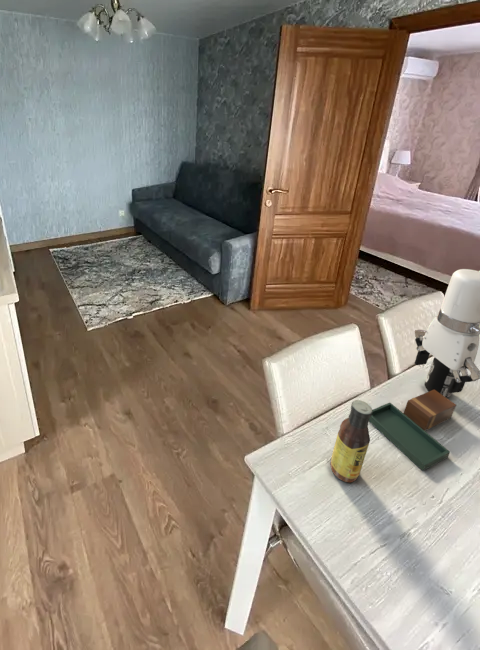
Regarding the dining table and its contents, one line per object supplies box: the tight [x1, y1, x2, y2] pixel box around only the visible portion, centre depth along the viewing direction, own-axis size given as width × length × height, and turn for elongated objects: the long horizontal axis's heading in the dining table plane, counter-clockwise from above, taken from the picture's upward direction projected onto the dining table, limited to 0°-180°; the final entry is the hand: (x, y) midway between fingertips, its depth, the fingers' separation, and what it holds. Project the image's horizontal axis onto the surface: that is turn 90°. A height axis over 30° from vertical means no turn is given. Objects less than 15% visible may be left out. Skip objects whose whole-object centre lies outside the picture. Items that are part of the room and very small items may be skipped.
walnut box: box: [403, 390, 457, 432], centre depth 95 cm, size 11×6×5 cm, turn 112°
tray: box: [368, 402, 451, 472], centre depth 90 cm, size 16×9×2 cm, turn 22°
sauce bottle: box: [330, 399, 373, 483], centre depth 78 cm, size 6×6×20 cm
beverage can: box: [424, 357, 461, 399], centre depth 102 cm, size 7×7×12 cm
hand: (436, 377), depth 87 cm, fingers open, 9 cm apart
